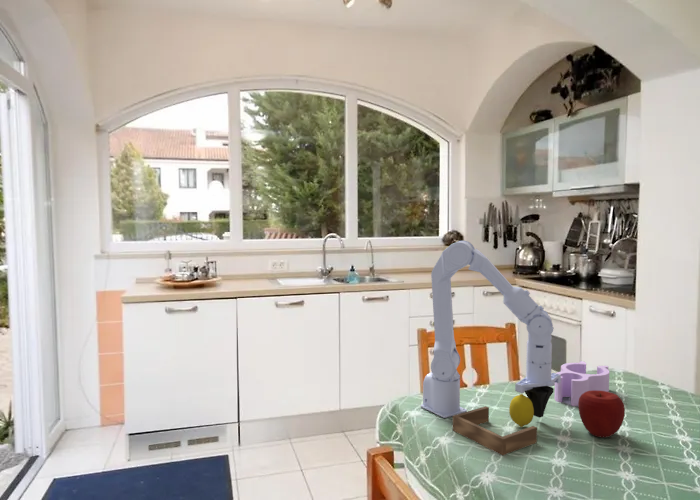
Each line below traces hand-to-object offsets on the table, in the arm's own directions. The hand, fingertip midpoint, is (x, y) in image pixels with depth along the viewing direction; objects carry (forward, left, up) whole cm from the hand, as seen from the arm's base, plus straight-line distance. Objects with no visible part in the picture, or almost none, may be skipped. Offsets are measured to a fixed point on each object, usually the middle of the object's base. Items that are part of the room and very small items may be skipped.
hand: (537, 415), depth 125 cm
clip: (-6, +26, -2) cm, 26 cm away
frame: (0, -15, -1) cm, 15 cm away
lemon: (0, -6, -2) cm, 6 cm away
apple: (+13, +6, -2) cm, 14 cm away
